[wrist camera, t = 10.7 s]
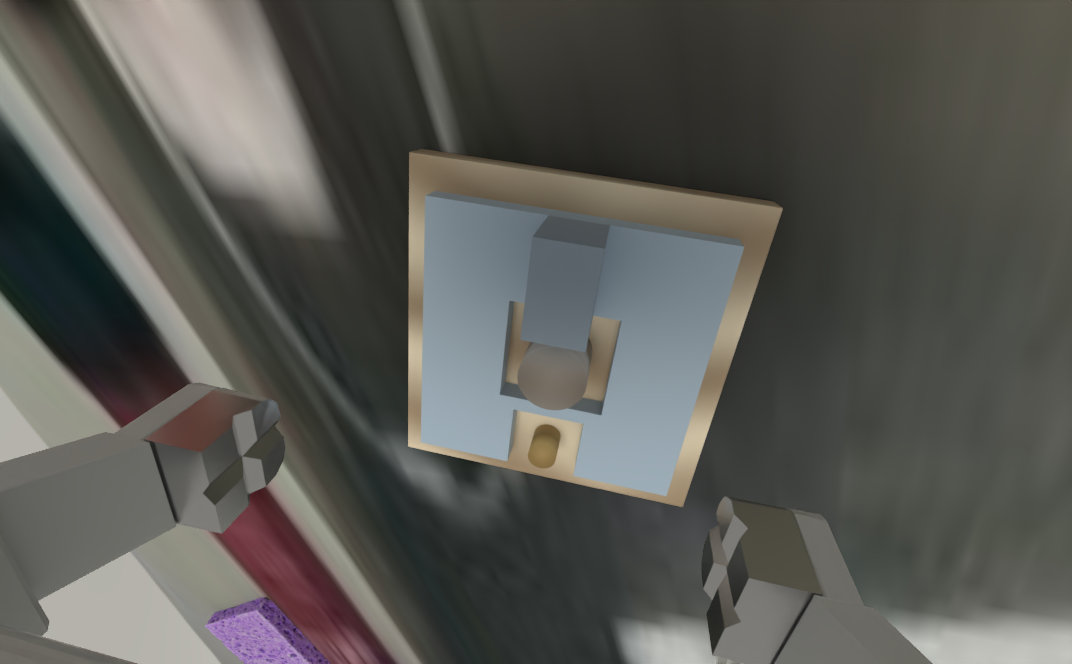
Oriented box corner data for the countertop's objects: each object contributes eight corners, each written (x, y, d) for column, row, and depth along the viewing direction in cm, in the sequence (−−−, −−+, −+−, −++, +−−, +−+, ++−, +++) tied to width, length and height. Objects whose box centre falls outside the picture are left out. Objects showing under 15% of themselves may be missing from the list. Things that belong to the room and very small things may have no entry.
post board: (422, 148, 23) (376, 159, 19) (773, 201, 21) (806, 225, 17) (418, 430, 30) (384, 482, 26) (680, 487, 28) (687, 552, 24)
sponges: (306, 695, 46) (294, 718, 45) (216, 606, 43) (199, 626, 41) (361, 686, 44) (351, 709, 42) (271, 589, 40) (255, 611, 39)
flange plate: (435, 190, 22) (387, 212, 18) (738, 239, 20) (765, 275, 16) (429, 429, 27) (391, 488, 23) (665, 479, 26) (670, 552, 22)
